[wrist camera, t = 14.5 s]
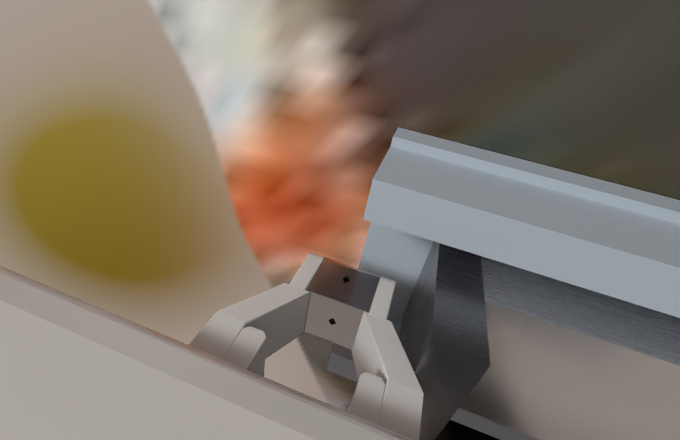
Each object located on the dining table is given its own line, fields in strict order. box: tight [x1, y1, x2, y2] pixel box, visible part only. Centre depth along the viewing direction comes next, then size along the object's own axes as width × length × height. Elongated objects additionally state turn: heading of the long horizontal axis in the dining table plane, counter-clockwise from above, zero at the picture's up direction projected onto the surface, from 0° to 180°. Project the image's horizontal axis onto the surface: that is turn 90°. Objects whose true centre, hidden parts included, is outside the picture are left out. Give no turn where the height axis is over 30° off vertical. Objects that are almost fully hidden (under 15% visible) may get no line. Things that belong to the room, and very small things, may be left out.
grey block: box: [399, 241, 680, 440], centre depth 9 cm, size 10×4×5 cm, turn 80°
